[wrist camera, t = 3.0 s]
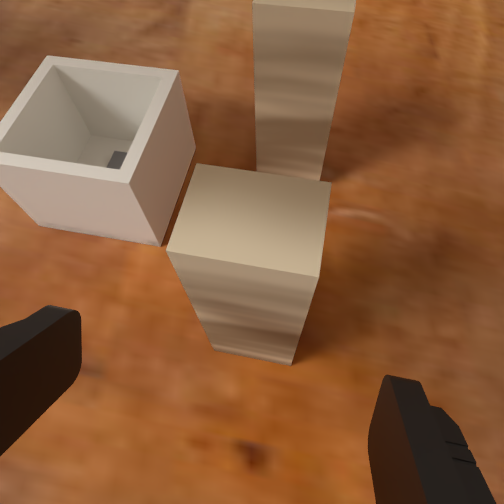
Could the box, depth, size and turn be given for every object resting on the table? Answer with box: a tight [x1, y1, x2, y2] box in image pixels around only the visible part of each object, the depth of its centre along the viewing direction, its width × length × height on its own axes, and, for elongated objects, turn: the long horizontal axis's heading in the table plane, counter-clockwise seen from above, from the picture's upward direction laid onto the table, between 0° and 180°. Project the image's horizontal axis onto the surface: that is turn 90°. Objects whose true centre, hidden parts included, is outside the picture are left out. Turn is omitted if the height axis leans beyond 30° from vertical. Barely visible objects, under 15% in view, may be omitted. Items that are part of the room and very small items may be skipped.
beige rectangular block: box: [252, 0, 356, 181], centre depth 20 cm, size 3×4×11 cm
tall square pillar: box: [166, 163, 332, 366], centre depth 15 cm, size 3×4×11 cm
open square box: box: [0, 55, 196, 247], centre depth 22 cm, size 8×8×6 cm
